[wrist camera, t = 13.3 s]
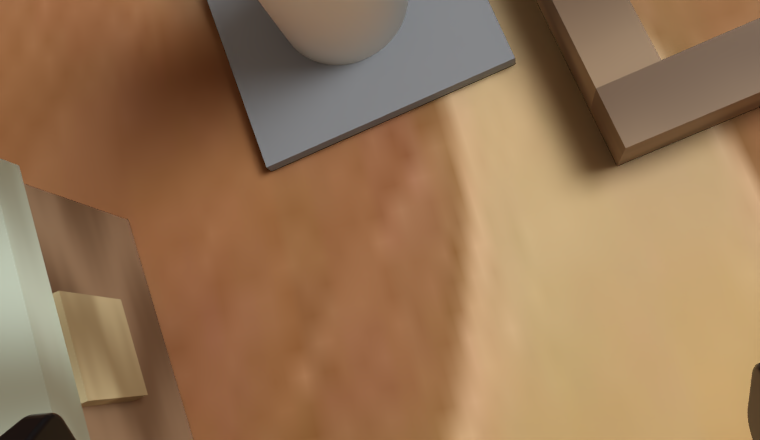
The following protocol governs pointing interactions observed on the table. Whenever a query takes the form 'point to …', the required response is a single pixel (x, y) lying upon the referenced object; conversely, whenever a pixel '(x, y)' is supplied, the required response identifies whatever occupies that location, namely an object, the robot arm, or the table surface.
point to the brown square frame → (652, 75)
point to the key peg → (337, 26)
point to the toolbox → (79, 322)
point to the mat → (353, 72)
